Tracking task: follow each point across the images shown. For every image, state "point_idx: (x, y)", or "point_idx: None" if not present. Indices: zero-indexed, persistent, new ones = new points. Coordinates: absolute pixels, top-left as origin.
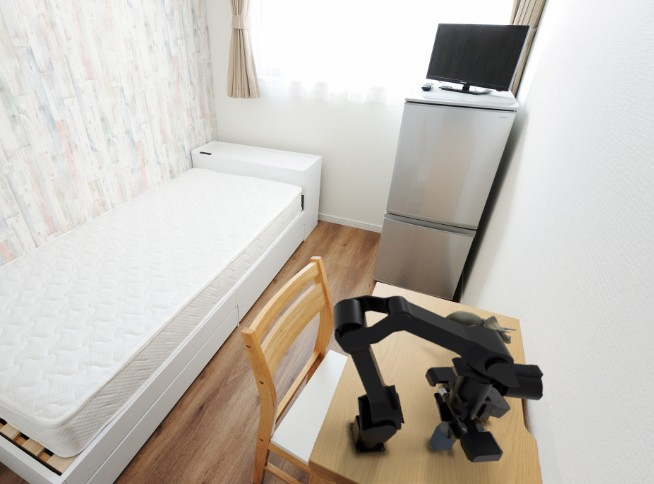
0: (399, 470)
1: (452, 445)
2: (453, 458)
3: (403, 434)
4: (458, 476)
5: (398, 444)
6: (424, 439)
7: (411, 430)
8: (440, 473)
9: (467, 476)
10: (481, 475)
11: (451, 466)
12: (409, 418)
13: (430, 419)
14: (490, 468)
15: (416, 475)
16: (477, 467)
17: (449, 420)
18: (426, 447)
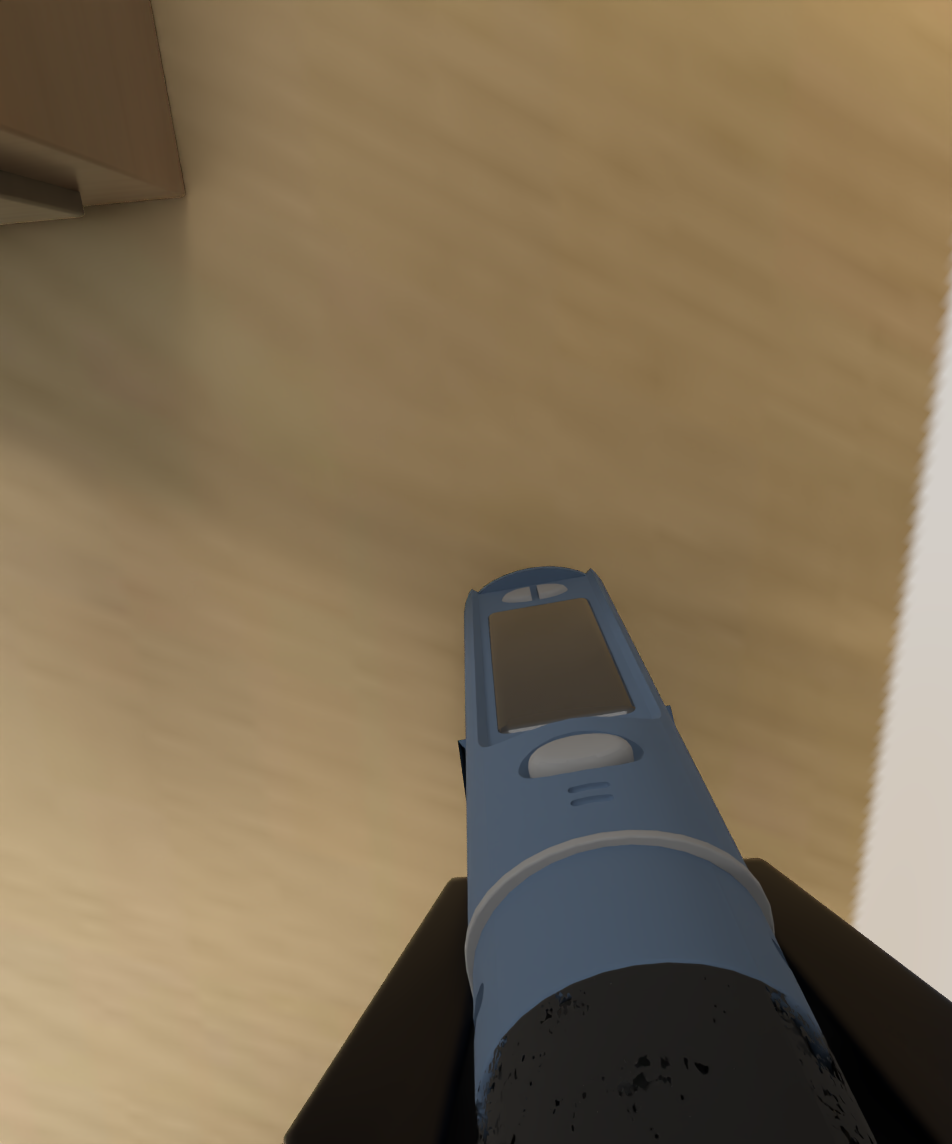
0: None
1: (623, 624)
2: (690, 558)
3: None
4: (895, 584)
5: None
6: (460, 808)
7: (361, 908)
8: (837, 768)
9: (912, 473)
10: (930, 271)
11: (778, 620)
12: (214, 888)
13: (190, 654)
14: (863, 69)
15: None
16: (827, 277)
17: (474, 1074)
18: None
